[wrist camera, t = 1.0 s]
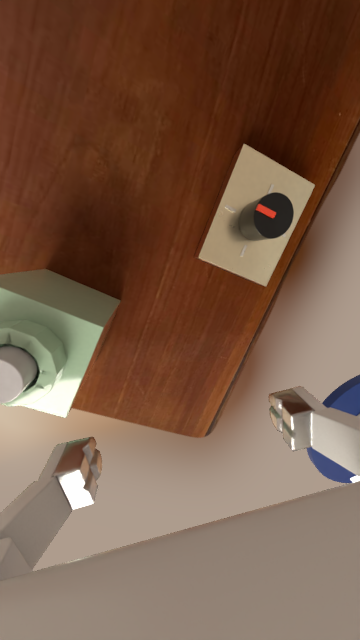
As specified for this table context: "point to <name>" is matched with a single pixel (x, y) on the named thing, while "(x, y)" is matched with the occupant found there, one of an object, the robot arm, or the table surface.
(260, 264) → the panel
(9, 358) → the grey cylindrical peg
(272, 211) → the knob
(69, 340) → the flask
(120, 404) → the table surface
